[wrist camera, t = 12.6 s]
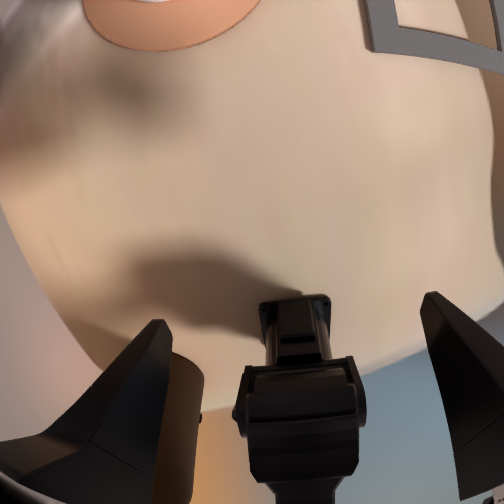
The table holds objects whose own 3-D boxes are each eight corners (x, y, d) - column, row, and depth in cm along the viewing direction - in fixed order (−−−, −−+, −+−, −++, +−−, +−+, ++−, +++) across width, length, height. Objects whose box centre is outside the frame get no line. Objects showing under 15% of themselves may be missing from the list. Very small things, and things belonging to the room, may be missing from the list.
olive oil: (112, 355, 33) (53, 532, 12) (172, 336, 30) (117, 568, 9) (165, 397, 38) (132, 554, 17) (226, 386, 35) (205, 575, 14)
